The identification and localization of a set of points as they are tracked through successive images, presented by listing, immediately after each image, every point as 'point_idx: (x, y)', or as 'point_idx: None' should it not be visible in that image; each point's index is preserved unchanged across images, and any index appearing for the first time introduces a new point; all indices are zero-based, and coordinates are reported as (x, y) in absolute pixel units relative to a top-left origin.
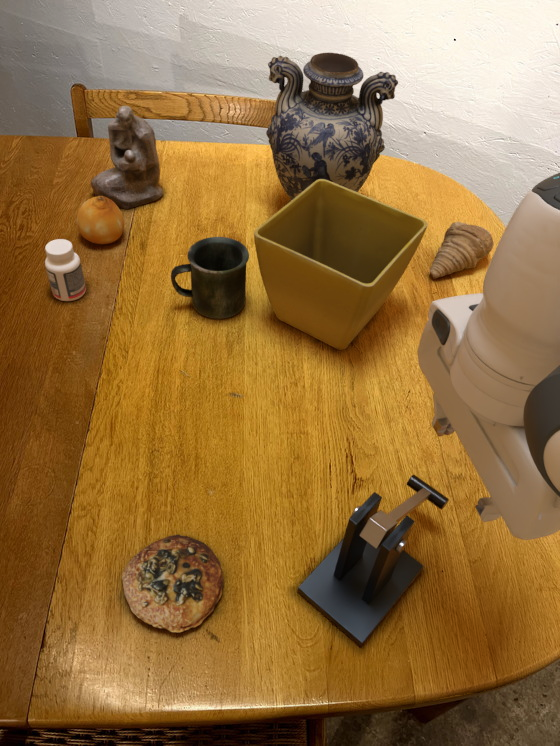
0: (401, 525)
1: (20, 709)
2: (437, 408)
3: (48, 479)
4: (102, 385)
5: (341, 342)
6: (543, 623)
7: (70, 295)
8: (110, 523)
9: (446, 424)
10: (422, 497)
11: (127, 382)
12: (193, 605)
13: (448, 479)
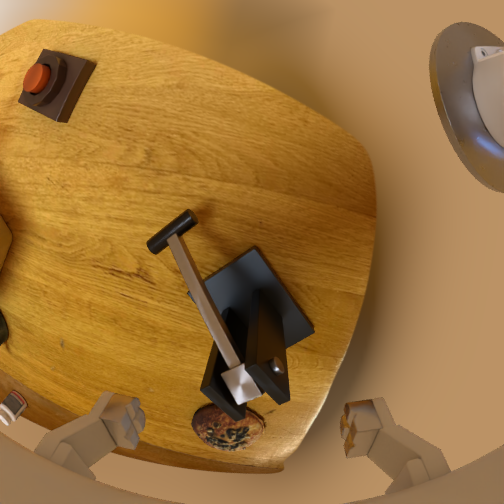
0: (258, 380)
1: (282, 470)
2: (98, 460)
3: (146, 451)
4: (75, 412)
5: (4, 244)
6: (341, 139)
7: (22, 403)
8: (177, 438)
9: (128, 441)
10: (184, 258)
11: (69, 400)
12: (251, 429)
13: (149, 168)
